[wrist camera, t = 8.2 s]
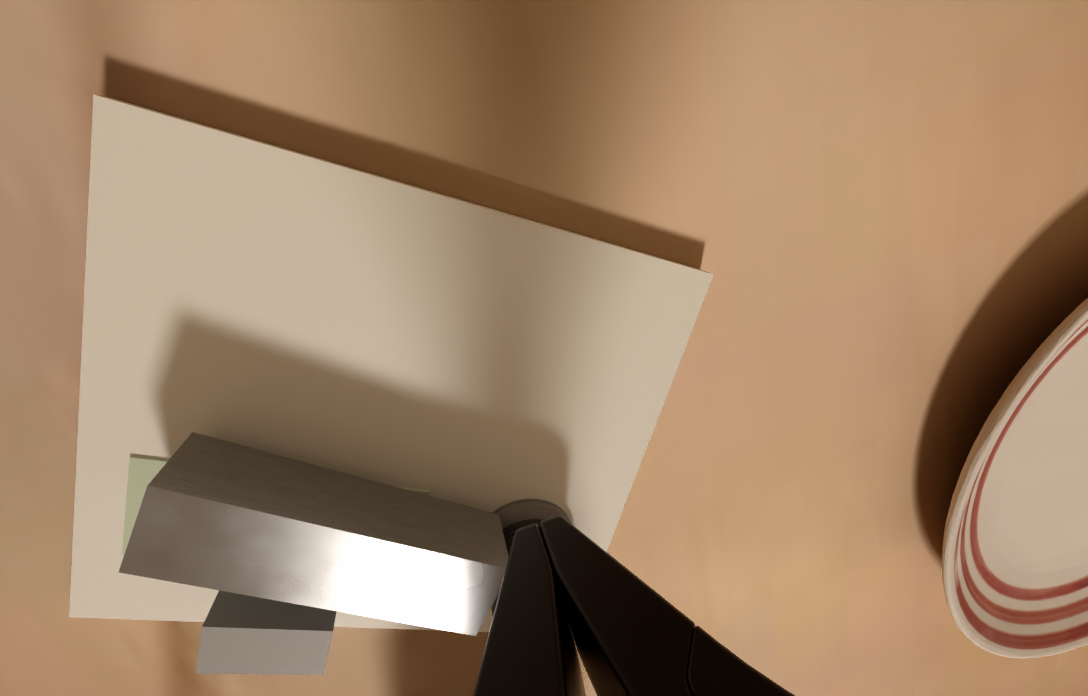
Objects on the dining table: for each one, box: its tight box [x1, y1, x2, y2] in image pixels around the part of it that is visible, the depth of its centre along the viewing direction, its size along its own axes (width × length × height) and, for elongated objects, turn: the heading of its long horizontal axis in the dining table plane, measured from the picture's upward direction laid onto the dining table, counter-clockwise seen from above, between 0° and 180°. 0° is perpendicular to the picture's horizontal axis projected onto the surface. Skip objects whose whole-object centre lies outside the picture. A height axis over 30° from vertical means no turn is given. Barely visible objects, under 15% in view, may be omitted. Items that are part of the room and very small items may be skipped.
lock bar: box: [119, 432, 574, 639], centre depth 18 cm, size 15×4×3 cm, turn 63°
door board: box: [69, 95, 714, 675], centre depth 18 cm, size 18×20×4 cm
